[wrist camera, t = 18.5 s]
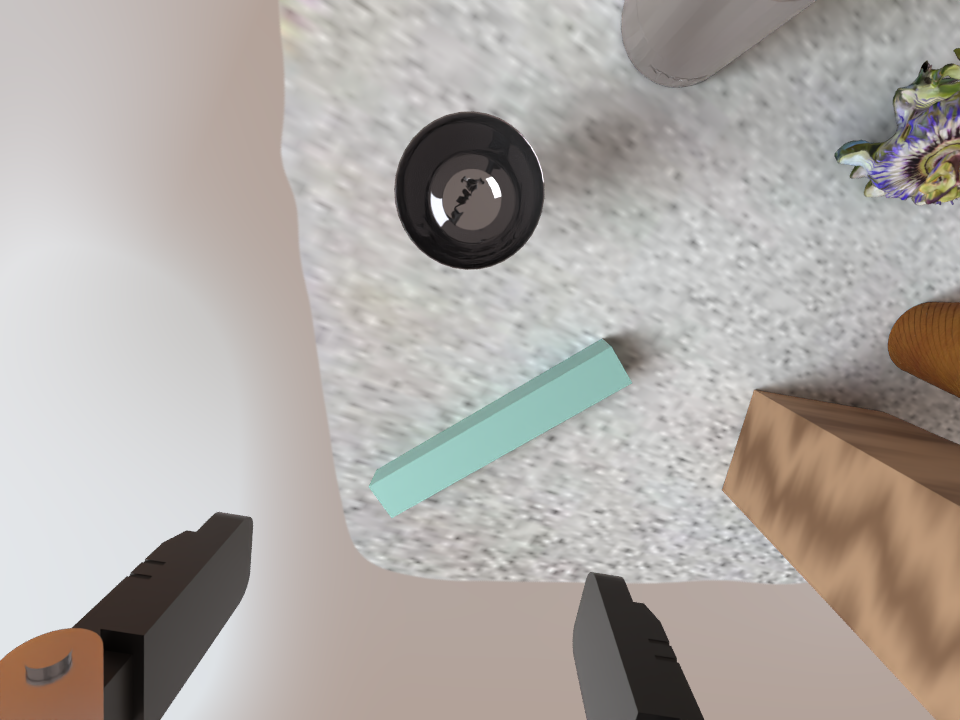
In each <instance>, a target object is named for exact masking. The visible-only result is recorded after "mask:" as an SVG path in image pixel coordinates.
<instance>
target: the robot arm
mask: <svg viewBox="0 0 960 720" xmlns="http://www.w3.org/2000/svg"><path fill="white" fill-rule="evenodd" d="M815 1H816V0H625V2H624V6H623V11H622V19H621V31H622V38H623V44H624V46H625V49H626V52H627V54H628V57H629V58H630V60H631V61H632V63H633V65H634V66H635V68H636V69H637V70H638V71H640V72H641V73H642V74H643V75H644V76H645V77H646V78H648V79H650V80H651V81H653V82H655V83H657V84H661V85H664V86H667V87H685V86H691V85H694V84H697V83H699V82H702V81H704V80H706V79H707V78H709V77H710V76H712V75H713V74H715V73H716V72H718V71H719V70H721V69H722V68H723V67H725V66H726V65H727V64H729V63H730V62H732V61H733V60H735V59H736V58H738V57H739V56H740V55H742V54H743V53H744V52H746V51H747V50H749V49H750V48H751V47H753V46H754V45H755V44H757V43H758V42H760V41H761V40H762V39H764V38H765V37H767V36H768V35H769V34H771V33H772V32H773V31H775V30H776V29H778V28H779V27H780V26H782V25H783V24H785V23H786V22H787V21H789V20H790V19H791V18H793V17H794V16H796V15H797V14H798V13H800V12H801V11H802V10H804V9H805V8H807V7H808V6H809V5H811V4H812V3H814V2H815ZM252 533H253V521H252V518H251V517H247V516H240V515H234V514H228V513H222V512H217V513H215V514H214V515H213V516H212V517H211V518H210V519H209V520H208V521H207V522H206V523H205V524H204V525H203V526H202V527H201V528H200V529H199V530H198V531H197V532H192V531H185V532H183V533H181V534H179V535H177V536H175V537H173V538H171V539H169V540H167V541H165V542H163V543H162V544H161V545H160V546H159V547H158V548H157V549H156V550H154V551H153V552H152V553H151V554H150V555H149V556H148V557H147V558H146V559H145V562H144V563H143V562H142V563H141V564H139V565H138V566H137V567H136V568H135V569H134V570H133V571H132V572H131V574H130V576H129V577H128V576H127V577H126V578H125V579H124V580H123V581H121V582H120V583H119V584H118V585H117V586H116V587H115V588H114V589H113V590H112V591H111V592H110V593H109V594H108V595H107V596H105V597H104V598H103V599H102V600H101V601H100V602H99V603H98V604H97V605H96V606H95V607H94V608H93V609H92V610H90V611H89V612H88V613H87V614H86V615H85V616H84V617H83V618H82V619H81V620H80V621H79V622H78V623H77V624H75V625H74V626H73V627H72V628H69V629H61V630H57V631H52V632H49V633H46V634H43V635H40V636H38V637H35V638H33V639H31V640H29V641H27V642H25V643H23V644H21V645H20V646H18V647H16V648H15V649H14V650H12V651H11V652H9V653H8V654H7V655H6V656H5V657H4V658H3V659H2V660H0V720H160V719H161V718H162V716H163V715H164V713H165V712H166V711H167V709H168V707H169V706H170V704H171V703H172V701H173V700H174V699H175V697H176V696H177V694H178V693H179V691H180V690H181V688H182V687H183V686H184V684H185V683H186V681H187V679H188V678H189V677H190V675H191V674H192V672H193V671H194V669H195V668H196V666H197V665H198V663H199V662H200V660H201V659H202V658H203V656H204V655H205V653H206V651H207V650H208V649H209V647H210V646H211V644H212V643H213V641H214V640H215V638H216V637H217V636H218V634H219V633H220V631H221V629H222V628H223V627H224V625H225V624H226V622H227V621H228V619H229V618H230V616H231V615H232V613H233V612H234V610H235V609H236V607H237V606H238V605H239V603H240V601H241V599H242V597H243V595H244V593H245V590H246V588H247V584H248V581H249V576H250V564H251V549H252V548H251V547H252ZM573 654H574V660H575V665H576V669H577V674H578V679H579V684H580V689H581V694H582V699H583V703H584V708H585V713H586V718H587V720H704V718H703V716H702V714H701V711H700V709H699V707H698V705H697V702H696V700H695V698H694V696H693V693H692V691H691V689H690V687H689V684H688V682H687V680H686V678H685V676H684V674H683V671H682V669H681V667H680V664H679V663H677V658H676V656H675V653H674V651H673V649H672V647H671V646H669V640H668V638H667V636H666V633H665V631H664V629H663V627H662V625H661V622H660V621H659V620H658V619H657V618H656V617H655V615H654V614H653V613H652V612H651V611H650V610H649V609H648V608H647V607H646V605H645V604H643V603H637V602H633V600H632V598H631V595H630V593H629V591H628V588H627V585H626V583H625V581H624V579H623V578H622V577H619V576H613V575H606V574H600V573H594V572H590V573H589V574H588V576H587V579H586V582H585V586H584V590H583V594H582V598H581V602H580V606H579V610H578V613H577V617H576V621H575V625H574V631H573Z"/></svg>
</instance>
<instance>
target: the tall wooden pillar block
mask: <svg viewBox="0 0 960 720" xmlns="http://www.w3.org/2000/svg"><path fill="white" fill-rule="evenodd" d="M722 491H723V492H724V493H725V494H726V495H727V496H728V497H729V498H730V499H731V500H732V501H733V502H734V503H735V505H736V506H737V507H738V508H739V509H740V510H741V511H742V512H743V513H744V514H745V515H746V516H747V517H748V518H749V520H750V521H751V522H752V523H753V524H754V525H755V526H756V527H757V528H758V529H759V530H760V531H761V532H762V533H763V535H764V536H765V537H766V538H767V539H768V540H769V541H770V542H771V543H772V544H773V545H774V546H775V547H776V548H777V550H778V551H779V552H780V553H781V554H782V555H783V556H784V557H785V558H786V559H787V560H788V561H789V562H790V564H791V565H792V566H793V567H794V568H795V569H796V570H797V571H798V572H799V573H800V574H801V575H802V576H803V577H804V579H805V580H806V581H807V582H808V583H809V584H810V585H811V586H812V587H813V588H814V589H815V590H816V591H817V592H818V594H819V595H820V596H821V597H822V598H823V599H824V600H825V601H826V602H827V603H828V604H829V605H830V606H831V607H832V609H833V610H834V611H835V612H836V613H837V614H838V615H839V616H840V617H841V618H842V619H843V620H844V621H845V622H846V624H847V625H848V626H849V627H850V628H851V629H852V630H853V631H854V632H855V633H856V634H857V635H858V636H859V638H860V639H861V640H862V641H863V642H864V643H865V644H866V645H867V646H868V647H869V648H870V649H871V650H872V651H873V652H874V653H875V655H876V656H877V657H878V658H879V659H880V660H881V661H882V662H883V663H884V664H885V665H886V666H887V667H888V669H889V670H890V671H891V672H892V673H893V674H894V675H895V676H896V677H897V678H898V679H899V680H900V681H901V683H902V684H903V685H904V686H905V687H906V688H907V689H908V690H909V691H910V692H911V693H912V694H913V695H914V696H915V698H916V699H917V700H918V701H919V702H920V703H921V704H922V705H923V706H924V707H925V708H926V709H927V710H928V712H929V713H930V714H931V715H932V716H933V717H934V718H935V719H936V720H960V445H959V444H956V443H954V442H952V441H949V440H947V439H945V438H942V437H940V436H938V435H936V434H933V433H931V432H929V431H926V430H924V429H922V428H920V427H917V426H915V425H913V424H910V423H908V422H906V421H904V420H901V419H899V418H897V417H894V416H892V415H890V414H888V413H885V412H881V411H876V410H870V409H864V408H858V407H852V406H846V405H840V404H834V403H829V402H823V401H817V400H811V399H805V398H799V397H793V396H787V395H782V394H776V393H770V392H764V391H758V390H754V392H753V395H752V398H751V401H750V405H749V408H748V411H747V414H746V417H745V420H744V423H743V426H742V429H741V433H740V436H739V439H738V442H737V445H736V448H735V451H734V454H733V457H732V461H731V464H730V467H729V470H728V473H727V476H726V479H725V482H724V486H723V489H722Z"/></svg>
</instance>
